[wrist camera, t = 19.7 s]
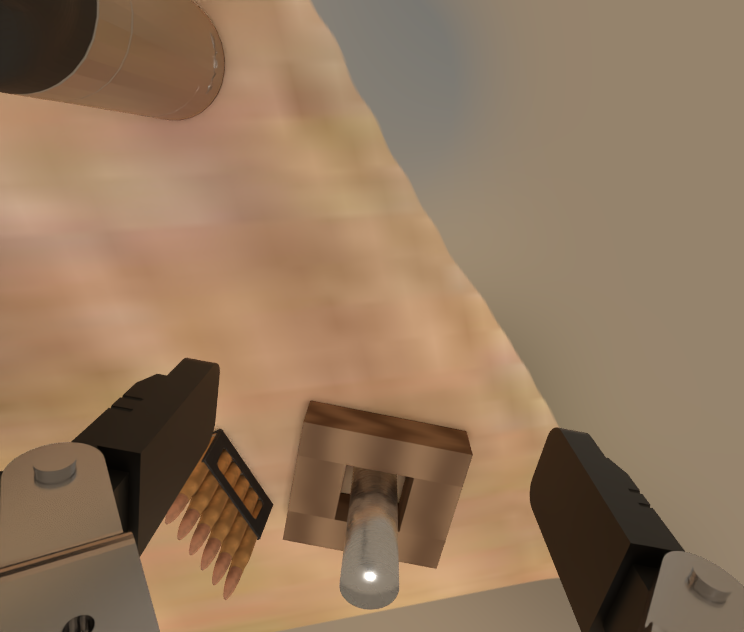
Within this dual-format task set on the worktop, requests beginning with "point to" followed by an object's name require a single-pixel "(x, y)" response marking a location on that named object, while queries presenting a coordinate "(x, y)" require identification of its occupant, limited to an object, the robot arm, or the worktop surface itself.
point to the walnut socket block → (381, 453)
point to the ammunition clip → (222, 510)
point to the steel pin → (371, 541)
